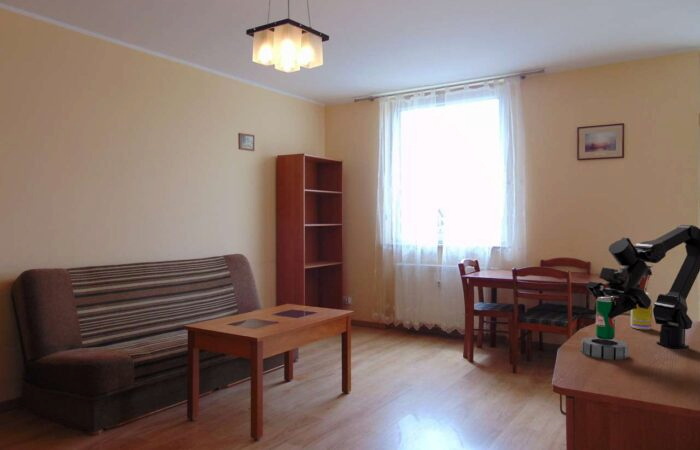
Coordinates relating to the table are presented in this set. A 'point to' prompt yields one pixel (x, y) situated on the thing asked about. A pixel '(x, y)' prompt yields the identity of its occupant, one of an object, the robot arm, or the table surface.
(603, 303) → the soda can
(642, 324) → the supplement bottle
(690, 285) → the robot arm
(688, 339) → the table surface
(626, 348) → the ring
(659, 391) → the table surface
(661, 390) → the table surface
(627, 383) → the table surface
